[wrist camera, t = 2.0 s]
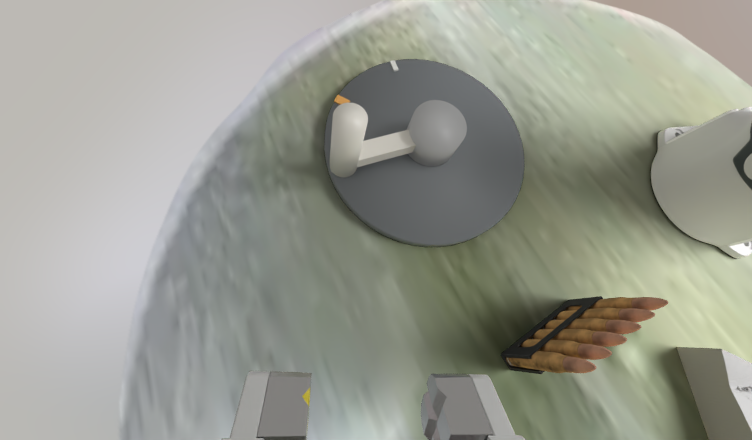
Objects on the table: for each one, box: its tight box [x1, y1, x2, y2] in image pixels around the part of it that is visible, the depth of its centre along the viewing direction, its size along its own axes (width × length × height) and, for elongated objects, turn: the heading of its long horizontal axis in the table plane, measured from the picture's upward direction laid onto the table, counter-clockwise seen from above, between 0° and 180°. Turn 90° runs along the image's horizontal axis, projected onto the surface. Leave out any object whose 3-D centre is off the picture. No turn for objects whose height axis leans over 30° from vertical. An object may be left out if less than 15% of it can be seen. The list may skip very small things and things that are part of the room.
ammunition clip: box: [501, 296, 668, 374], centre depth 33 cm, size 11×2×12 cm, turn 123°
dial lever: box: [329, 100, 467, 178], centre depth 36 cm, size 15×6×9 cm, turn 111°
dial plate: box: [324, 59, 524, 247], centre depth 43 cm, size 24×24×2 cm
